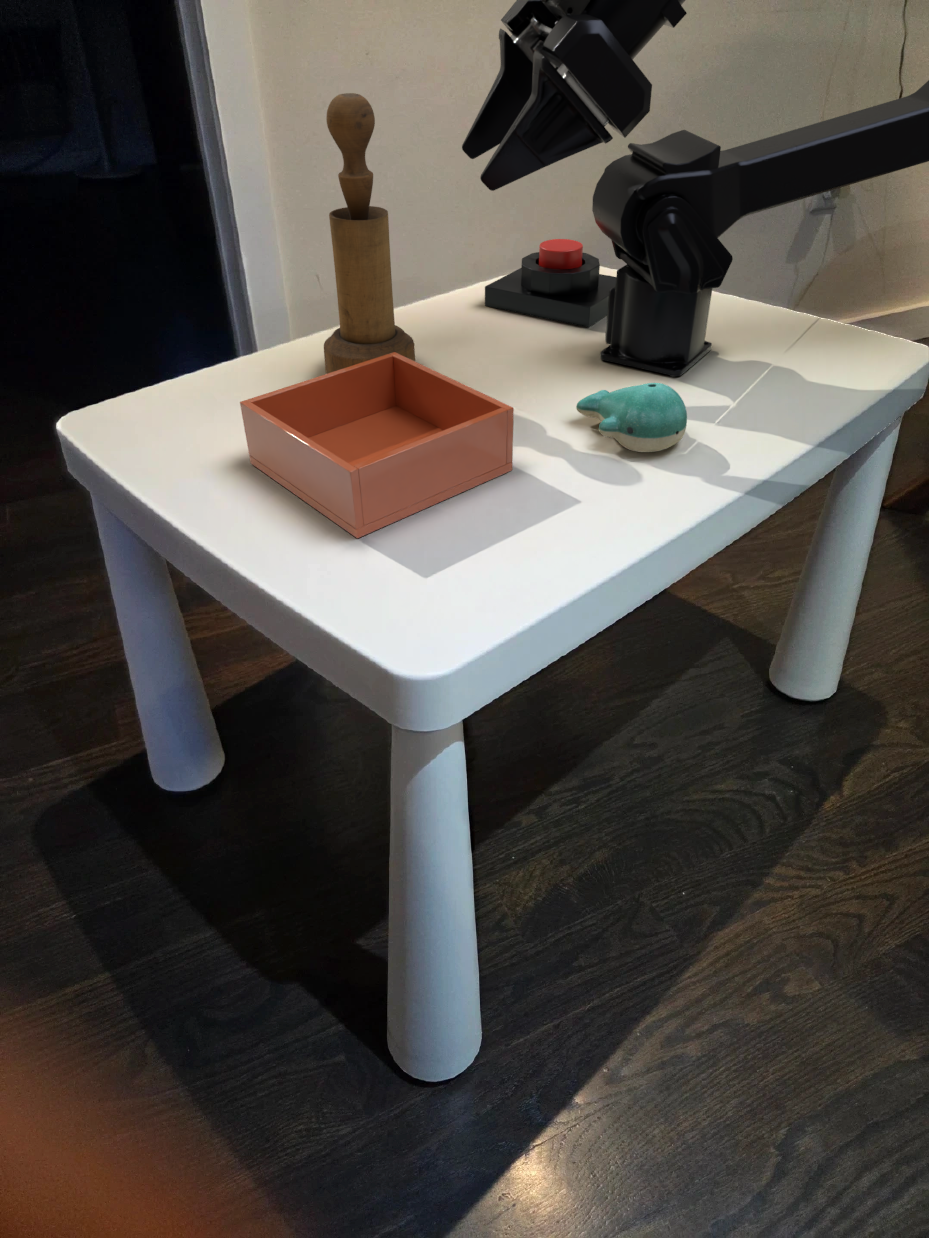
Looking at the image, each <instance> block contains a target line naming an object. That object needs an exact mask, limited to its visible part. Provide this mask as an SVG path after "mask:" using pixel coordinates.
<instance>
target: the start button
mask: <svg viewBox="0 0 929 1238" xmlns="http://www.w3.org/2000/svg"><path fill="white" fill-rule="evenodd" d="M583 250H584V245H583V243H582V242H580V241H577V240H574V239H570V238H569V239H568V238H554V239H548V240H544V241H542V242H540V244H539V249H538V252H539V266H541V267H545V268H551V269H572V268H577V267H580V266H582V253H584V251H583Z"/></svg>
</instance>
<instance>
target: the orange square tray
mask: <svg viewBox="0 0 929 1238" xmlns="http://www.w3.org/2000/svg"><path fill="white" fill-rule="evenodd" d="M239 407H240V411H241V417H242V422H243V427H244V435H245V440H246V445H247V451H248V456H249V463H250V465H252V466H254V467H255V468H256V469H258V470H260V471H261V472H262V473H264V474H265V475H267V477H269V478H271V479H272V480H274V481H275V482H276V483H278V484H279V485H281V486H282V487H283V488H285V489H286V490H288V492H290V493H292V494H294V495H295V496H296V497H298V498H300V499H301V500H302V501H303V502H304V503H306V504H308V505H309V506H310V507H312V508H313V509H314V510H316V511H317V512H319V513H320V514H321V515H323V516H324V517H326V518H328V519H329V520H330V521H331V522H333V523H334V524H336V525H337V526H339V527H340V528H342V529H343V530H344V531H346V532H347V533H349V534H350V535H352V536H353V537H354V538H356V539H359V538H362V537H364V536H366V535H368V534H371V533H373V532H375V531H378V530H380V529H382V528H384V527H387V526H389V525H391V524H393V523H395V522H396V523H397V522H398V521H400V520H402V519H405V518H407V517H410V516H412V515H415V514H416V513H418V512H421V511H423V510H425V509H428V508H430V507H432V506H435V505H436V504H439V503H442V502H443V501H447V500H448V499H450V498H452V497H455V496H458V495H459V494H461V493H463V492H466V491H468V490H471V489H473V488H475V487H478V486H480V485H482V484H484V483H487V482H488V481H491V480H493V479H496V478H498V477H500V476H503V475H504V474H507V473H509V472H511V471H513V464H514V463H513V457H514V414H515V413H514V410H515V409H514V407H513V406H511V405H509V404H506V403H505V402H503V401H501V400H498V399H497V398H494V397H492V396H489V395H487V394H486V393H483V392H481V391H478V390H477V389H476V388H475V389H474V388H472V387H470V386H468V385H466V384H464V383H461V382H460V381H457V380H455V379H453V378H451V377H449V376H447V375H445V374H443V373H440V372H438V371H436V370H434V369H432V368H430V367H428V366H426V365H424V364H422V363H419V362H417V361H416V360H415V361H413V360H411V359H409V358H406V357H404V356H402V355H400V354H398V353H396V352H393V353H390V354H387V355H384V356H381V357H378V358H374V359H371V360H368V361H365V362H362V363H359V364H356V365H353V366H350V367H347V368H343V369H340V370H337V371H334V372H331V373H328V374H326V373H325V374H322V375H319V376H316V377H313V378H310V379H306V380H304V381H301V382H298V383H297V382H296V383H293V384H291V385H288V386H285V387H281V388H279V389H275V390H272V391H270V392H266V393H263V394H259V395H257V396H253V397H251V398H248V399H244V400H242V401H239Z"/></svg>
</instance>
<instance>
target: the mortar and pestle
mask: <svg viewBox="0 0 929 1238" xmlns="http://www.w3.org/2000/svg"><path fill="white" fill-rule="evenodd" d="M325 119H326V126H327V129H328V132H329V133H330V135H331V138H332V140H333V141H334V143H335V145H336V146H337V147H338V149H339V151H340V152H341V155H342V156H341V157H342V161H343V165H342V170H341V171H340V172H339V173H338V174H337V176H338V181H339V185H340V189H341V192H342V195H343V198H344V201H345V204H346V206H345V207H341V208H336V209H334V210H332V211H330V212H329V214H328V217H329V227H330V237H331V245H332V255H333V256H332V257H333V267H334V275H335V286H336V297H337V307H338V308H337V309H338V319H339V328H337V329H335V330H334V331H333V332H332V334H331V335H330V336H329V337H328V338H327V339H325V341H324V343H323V359H324V368H325V374H328V373H331V372H334V371H337V370H340V369H343V368H347V367H350V366H353V365H356V364H359V363H362V362H365V361H368V360H371V359H374V358H378V357H381V356H384V355H387V354H390V353H393V352H396V353H398V354H400V355H402V356H404V357H406V358H409V359H411V360H413V361H415V362H416V351H415V349H416V348H415V341H414V339H413V337H412V336H411V335H409V334H408V333H406V332H405V330H404V329H403V328H402V327H400V326H398V325H396V321H395V309H394V295H393V294H394V293H393V281H392V280H393V279H392V264H391V263H392V262H391V245H390V243H391V242H390V223H389V211H388V210H387V209H385V208H383V207H381V206H376V205H375V206H374V205H370V204H371V199H372V194H373V188H374V187H373V186H374V173H373V172H372V171H371V170H370V169H369V167H368V164H367V160H366V151H367V148H368V146H369V144H370V141H371V138H372V136H373V133H374V130H375V125H376V119H375V113H374V109H373V106H372V105H371V104H370V102H369V101H368V99H367V98H366V97H365V96H363V95H361V94H359V93H355V92H345V93H339V94H338V95H336V96H334V97H333V98H332V100H330V102H329V104H328V107H327V110H326V118H325Z"/></svg>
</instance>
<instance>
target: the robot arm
mask: <svg viewBox="0 0 929 1238" xmlns="http://www.w3.org/2000/svg"><path fill="white" fill-rule="evenodd" d="M685 1H686V0H516V1H515V2H514V3H513V4H512V5H511V7H510V8H509V9H508V10H507V11H506V13H505V14H504V15H503V17H502V18H501V19H500V21H501V23H502V24H503V26H504V27H505V28H506V29H507V30H508V31H509V32H510V34H511V35H510V34H509V33H508V32H507V31H505V30H504V29H502V28H499V30H498V40H499V56H500V57H499V59H500V66H499V70H498V73H497V75H496V77H495V80H494V81H493V83H492V86H491V87H490V90H489V91H488V93H487V96H486V97H485V99H484V101H483V103H482V105H481V107H480V109H479V111H478V113H477V115H476V117H475V119H474V121H473V123H472V125H471V127H470V129H469V131H468V133H467V134H466V137H465V139H464V141H463V142H462V144H461V149H462V152H464V154H465V155H466V156H467V157H468V158H469V159H471V160H474V159H477V158H479V157H480V156H482V155H484V154H485V153H487V152H489V151H491V150H493V149H494V148H496V147H497V148H496V150H495V151H494V152H493V154H492V156H491V158H490V159H489V161H488V162H487V164H486V165H485V167H484V169H483V170H482V172H481V174H480V176H479V179H480V181H481V182H482V184H483V185H484V186H485V187H486V188H487V189H488V190H489V191H491V192H494V191H497V190H498V189H501V188H503V187H504V186H507V185H509V184H512V183H514V182H516V181H519V180H520V179H522V178H525V177H526V176H529V175H531V174H533V173H535V172H538V171H539V170H541V169H544V168H546V167H549V166H550V165H553V164H555V163H558V162H559V161H562V160H564V159H566V158H569V157H572V156H574V155H576V154H578V153H581V152H584V151H586V150H588V149H590V148H593V147H595V146H598V145H600V144H603V143H604V144H605V145H606V144H608V143H609V142H611V141H612V140H613V139H614V137H613V135H612V134H611V133H610V132H609V131H608V129H607V128H606V126H607V125H609V126H610V128H612V130H614V131H615V132H616V133H617V134H619V135H620V136H621V137H623V138H624V139H626V138H627V137H628V136H629V135H630V134H631V132H632V131H633V130H634V129H635V128H636V127H637V126H638V125H639V124H640V123H641V121H642V120H643V119H644V118H645V117H647V115H648V114H649V113H650V111H651V101H652V91H653V84H652V82H651V81H650V80H649V79H648V78H647V76H646V75H645V73H643V71H642V70H641V68H640V67H639V66H638V64H637V63H636V62H635V61H634V59H635V58H636V57H637V55H638V54H639V53H641V51H642V50H643V49H644V48H645V46H647V44H648V43H649V42H650V41H651V40H652V39H653V37H654V36H655V35H656V34H657V33H658V32H659V31H660V30H661V29H662V27H663V26H666V27H668V28H669V27H670V28H674V29H675V28H676V26H677V25H678V24H679V23H680V22H681V21H682V19H683V18H684V17H685V16H686V15H688V14H687V11H686V10H685V8H684V6H682V5H683V4H684V3H685ZM627 149H628V150H629V152H630V154H625V155H623V156H621V157H619V158H617V159H615V160H612V162H610V163H609V164H608V165H606V167H605V168H604V170H603V173H602V175H601V176H600V178H599V179H598V181H597V182H596V185H595V188H594V191H593V194H592V210H591V211H592V215H593V219H594V221H595V222H594V223H595V224H596V226H598V228H599V230H600V231H601V233H603V234H604V235H605V236H606V237H607V238H608V239H610V240H611V244H612V248H613V251H614V256H615V257H616V258H617V259H618V260H622V261H623V263H625V265H623V266H622V267H620V268H618V269H617V270H616V275H615V277H616V286H615V287H613V288H612V289H611V290H610V291H609V300H608V312H607V316H606V323H605V324H606V325H605V337H604V338H605V339H604V341H605V343H606V345H608V346H607V347H605V348H604V349H602V350H601V351H600V354H599V355H600V356H599V359H600V360H602V361H605V362H610V363H614V364H618V365H623V366H627V367H632V368H635V369H636V368H637V369H641V370H645V371H650V372H655V373H659V374H663V375H666V376H673V377H680V376H682V375H684V374H685V373H686V372H687V371H688V370H689V369H691V368H692V367H693V366H694V365H695V364H696V363H697V362H698V361H700V360H701V359H702V358H704V356H706V355H707V354H708V353H709V352H710V351H712V347H713V344H712V342H710V341H707V340H706V333H707V327H708V322H709V321H708V320H709V313H710V308H711V302H712V301H711V300H712V294H713V289H717V288H720V287H721V285H722V283H723V282H724V280H725V278H726V275H727V273H728V271H729V269H730V267H731V265H732V263H733V259H734V258H733V255H732V253H731V252H730V251H729V250H728V249H727V247H725V245H724V244H723V243H722V241H721V240H720V239H719V238H720V237H721V236H722V235H723V234H724V233H725V232H727V231H728V230H729V229H730V228H731V227H732V226H733V225H734V224H736V223H737V222H738V221H739V220H741V219H743V218H745V217H747V216H751V215H753V214H757V213H760V212H763V211H764V212H765V211H767V210H770V209H774V208H777V207H780V206H784V205H787V204H791V203H794V202H798V201H800V200H804V199H807V198H810V197H813V196H818V195H821V194H824V193H827V192H831V191H835V190H837V189H841V188H844V187H847V186H851V185H854V184H857V183H861V182H865V181H867V180H870V179H874V178H878V177H881V176H884V175H888V174H891V173H894V172H897V171H902V170H904V169H905V170H906V169H908V168H911V167H914V166H918V165H922V164H925V163H927V162H929V79H928V80H927V81H926V82H925V83H923V85H922V86H920V87H919V89H917V90H916V91H914V92H913V93H910V94H909V95H907V96H903V97H900V98H897V99H893V100H890V101H886V102H883V103H880V104H879V103H878V104H876V105H873V106H870V107H866V108H863V109H860V110H859V109H858V110H856V111H853V112H850V113H846V114H842V115H839V116H836V117H833V118H829V119H825V120H822V121H818V122H816V123H812V124H808V125H805V126H802V127H798V128H795V129H792V130H789V131H785V132H782V133H779V134H774V135H772V136H771V135H770V136H768V137H764V138H761V139H758V140H755V141H752V142H748V143H745V144H741V145H738V146H734V147H731V148H728V149H723V150H721V149H722V147H721V145H719V144H717V143H715V142H712V141H710V140H708V139H706V138H704V137H701V136H700V135H697V134H695V133H693V132H691V131H689V130H687V129H682V130H679V131H675V132H672V133H670V134H668V135H666V136H664V137H662V138H660V139H658V140H656V141H652V142H651V143H650V142H649V143H644V144H643V143H642V144H639V143H633V142H629V143H628V145H627Z"/></svg>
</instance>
